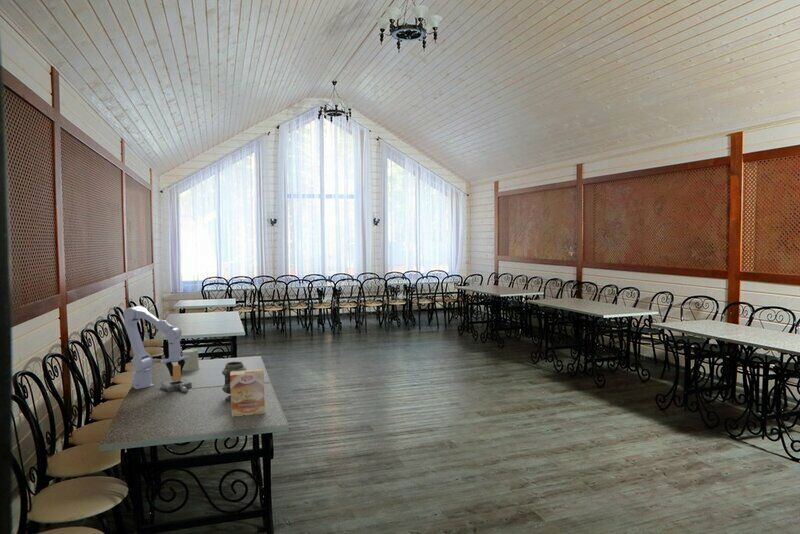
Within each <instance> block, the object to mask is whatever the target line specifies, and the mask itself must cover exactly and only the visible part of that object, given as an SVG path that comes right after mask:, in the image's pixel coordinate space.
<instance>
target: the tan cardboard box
mask: <svg viewBox="0 0 800 534" xmlns="http://www.w3.org/2000/svg"><path fill="white" fill-rule="evenodd" d="M181 379H182V374H181V366H180V365H179V364H178V363H175V364H173V376H170V381H178V380H181Z"/></svg>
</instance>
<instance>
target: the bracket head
mask: <svg viewBox="0 0 800 534" xmlns="http://www.w3.org/2000/svg"><path fill="white" fill-rule="evenodd" d="M160 384H161V385H160V386H161V388H162V389H163V388H164V390H165V391H166V390H167V391H166V392H167V393H171V392H170V391H172V392H175V390H177V391H181V392H182V393H184V394H187V393H188V392H189V389H190V387H191V388H192V387H193V385H192V382H191V381H189V380H187V379H185V378H181V380H178V381H172V380H169V381H163V382H160Z"/></svg>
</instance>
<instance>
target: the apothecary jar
mask: <svg viewBox="0 0 800 534" xmlns="http://www.w3.org/2000/svg"><path fill="white" fill-rule="evenodd" d="M244 370H248V369H247V367H246V366H244V362H243V361H238V360H237V361H236V360H235V361H230V362H229V361H228V362H226V363H225V366H224V368H223V369H222V370H221V374H222V375H223V376H224V384H223V385H222V391H223V393H225V394H228V396H226V397H225V401H227V402H231V389H230V372H232V371H244Z"/></svg>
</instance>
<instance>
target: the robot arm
mask: <svg viewBox="0 0 800 534" xmlns="http://www.w3.org/2000/svg"><path fill="white" fill-rule="evenodd" d="M122 314H123V319H124V323H123V324H124V325H123V326H124V328H125V330H126V334H127V336H128V337H127V338H128V339H129V342H130V345H131V348H132V351H133V354H134V356H133V357H132V367H133V369H134V370H135V371H133V372H131V387H132V386H133V387H132V388H133V389H135V390H140V389H145V388H149V387H154V386H155V385H154V383H152V367H153V365H154V359H153V358H152V357H151V355H150V353H149V352H147V351H146V349H145V346H144V343H143V340H142V338H141V334H140V332H139V329H138V326H137V323H138V322H139V320H140V319H144V320H146V321H147V322H149V323H150V324H153V325H154V326H155V329H156V330H158V331H159V332H161V333H162V334H164V336H165V338H166V339H167V342H168V358H165V359H162V360H161V359H160V365H165V366H166V368H167V369H168V372H169V375H170V377H171V376H173V365H174V364H173V363H176V362H177V364H179V365H180V366H181V375H182V374H183V366H184V364H185V361H184V360H189V356H182V353H181V341H180V340H181V336H182V333H183V332H182V330H181V329H180V327H179V326H174V325H171V324H170V323H168V322H167V320H165V319H159V318H158V317H156V316H155V315H154V314H152V313H151V312H150V311H148V309H147V308H146V307H144V305H137V306H135V305H134V306H131V307H127V308H126V309H125V310H124V311H123V313H122Z"/></svg>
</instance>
